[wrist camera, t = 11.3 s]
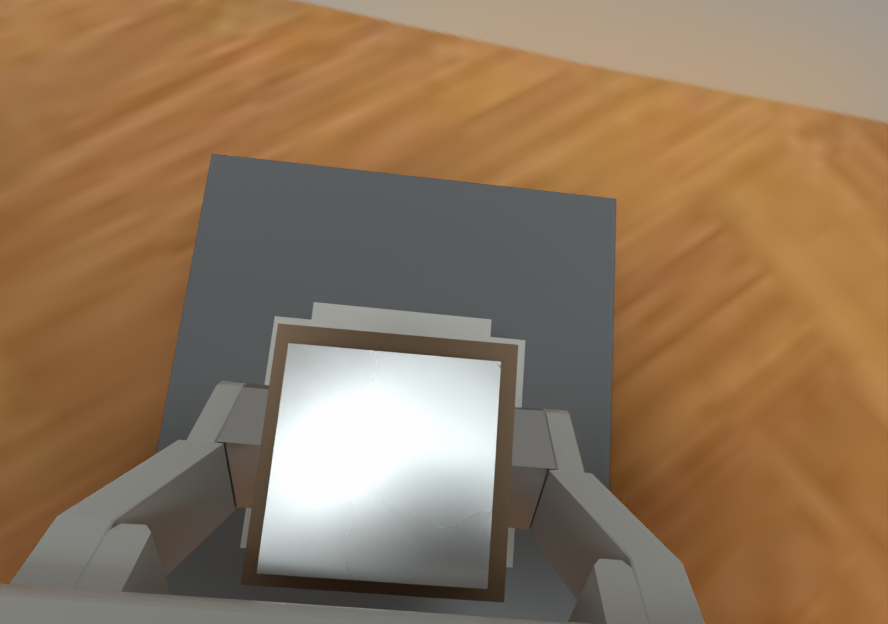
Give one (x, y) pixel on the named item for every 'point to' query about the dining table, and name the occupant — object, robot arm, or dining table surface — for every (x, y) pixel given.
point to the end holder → (396, 321)
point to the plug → (384, 465)
